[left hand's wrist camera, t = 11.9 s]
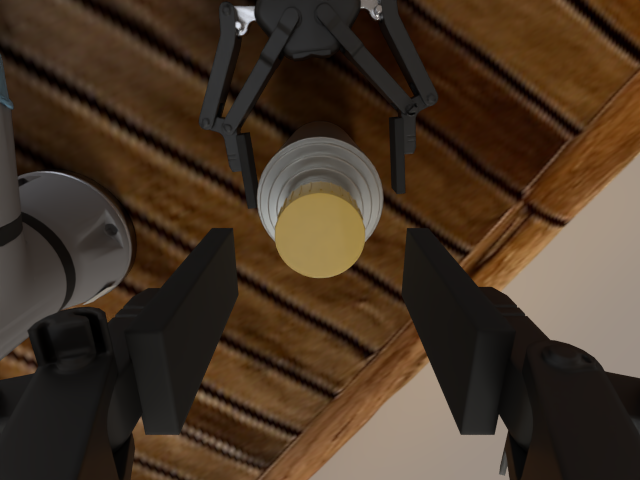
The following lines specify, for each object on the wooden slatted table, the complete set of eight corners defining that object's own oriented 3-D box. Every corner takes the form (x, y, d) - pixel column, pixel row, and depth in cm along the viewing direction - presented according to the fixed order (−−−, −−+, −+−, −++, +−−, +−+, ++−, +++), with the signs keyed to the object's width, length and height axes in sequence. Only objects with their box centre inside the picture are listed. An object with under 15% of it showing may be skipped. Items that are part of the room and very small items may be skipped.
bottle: (304, 204, 42) (285, 330, 19) (271, 141, 40) (203, 197, 16) (366, 173, 41) (428, 268, 18) (336, 107, 38) (361, 116, 15)
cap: (302, 271, 20) (300, 292, 18) (263, 203, 19) (256, 216, 16) (373, 238, 19) (381, 256, 17) (339, 165, 18) (342, 174, 16)
